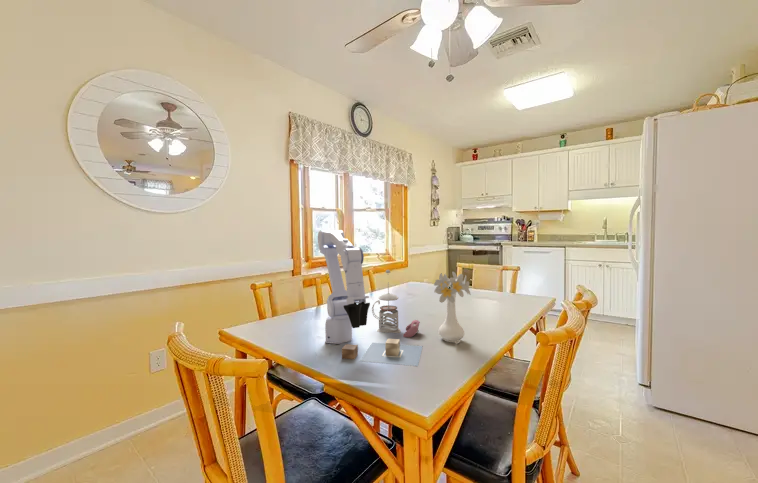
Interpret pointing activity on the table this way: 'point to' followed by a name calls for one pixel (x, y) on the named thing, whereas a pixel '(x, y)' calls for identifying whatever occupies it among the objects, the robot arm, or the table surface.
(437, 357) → the table surface
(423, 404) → the table surface
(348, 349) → the walnut block
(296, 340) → the table surface
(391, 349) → the birch block
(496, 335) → the table surface
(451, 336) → the flower vase
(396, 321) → the french press
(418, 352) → the board
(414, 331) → the video game controller
